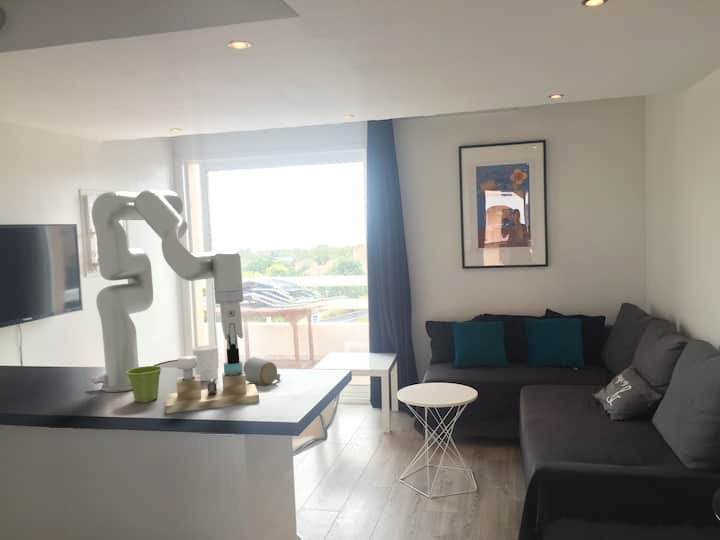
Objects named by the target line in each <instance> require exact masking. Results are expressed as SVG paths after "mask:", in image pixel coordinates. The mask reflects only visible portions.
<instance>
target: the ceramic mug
mask: <svg viewBox="0 0 720 540" xmlns="http://www.w3.org/2000/svg"><path fill="white" fill-rule="evenodd" d="M242 368H243V370H244V372H245V375H246V382H248V383H251V382H252V383H251V384H256V383H257V384H256V385H263V386H268V385H271V384H272V383H273V382H275V380H276V379H277V380H280V378H281V374H280V373H278V368H277V366H276V364H275V363H274V362H272V361H270V360H266V359H263V358H259V357H255V356H253V357H250V358H248V359H247V360H246V362H245V363H244V365H243V367H242ZM275 378H276V379H275Z"/></svg>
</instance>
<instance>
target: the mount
mask: <svg viewBox="0 0 720 540" xmlns="http://www.w3.org/2000/svg"><path fill="white" fill-rule="evenodd" d="M221 375H222V376H221V379H222V387H217V394H216V395H212V396H209V395H208V388H206V389H201V388H202V387H201V381H200V375H196V374H195V375H193V380H187V381H184V376H180V377H177V378H176V392H172V393H167V395H166V400H165V414H172V413H182V412H191V411H197V410H205V409H213V408H222V407H230V406H231V407H232V406H238V405H245V404H246V403H248V404H254V403H253V402H256V403H260V395H259V392H258V389H257V387H256V383H251V384H250V383H249V384H247V381H246V375H245V372H244V370H243V372H241V373H238V375H233V376H229V374H225V373H224V372H222V373H221Z"/></svg>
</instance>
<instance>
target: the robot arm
mask: <svg viewBox="0 0 720 540" xmlns="http://www.w3.org/2000/svg"><path fill="white" fill-rule="evenodd" d="M183 210H184V204H183V201H182V199H181V197H180V195H178V193H176V192H174V191H171V190H162V189H161V190H160V189H146V190H144V191H141V192H138V191H137V192H135V191H134V192H133V191H119V190H118V191H115V190H114V191H107V192H104V193H102V194H99V195H98V196H97V197H96V199H95V200H94V201H93V204H92V208H91V218H92V223H93V224H92V225H93V227H94V232H95V235H96V236H95V237H96V247H97V261H98V269H99V273H100V277H102V278H103V279H104V280H106V281H113V282H114V281H124V280H127V283H121V284H112V285H109V286H106V287H103V288H102V289H101V290H99V292H98V294H97V295H96V301H95V303H96V307H97V308H96V309H97V311H98V314H99V318H100V323H101V331H102V342H103V352H104V357H103V358H104V366H105V368H104V369H105V373H104V374H102V375H101V376H91V377H90V383H91V384H94V385H95V384H96V385H97V384H101V385H100V386H101V387H100V389H101V391H103V392H107V393H120V392H128V391H133V390H132V385H131V381H130V379H129V376H128V374H127V373H126V371H128V370H130V369H133V368H138V367H140V365H139V354H138V340H137V339H138V338H137V329H136V325H135V323H134V322H133V320H132V318H131V317H130V315H131V314H137V313H141V312H144V311H147V310H149V308H151V306H152V304H153V301H154V286H153V273H152V272H153V271H152V265H151V264H152V262H151V259H150V258H149V255H147V253H146V252H145V251H144V250H142V249H141V248H134V247H133V248H131V247H130V248H129V246H128V236H127V232H126V231H125V229H124V226H123V225H122V224H121V223H120V221H145V223H146V224H147V225H148V226H149V227H150V228H151V229H152V230H153V232H155V234H156V235H157V236H158V237H159V238H160V240H161V252H162V256H163V259H164V261H165V262H166V263H167V264H168V266H169V267H170V268H171V269H172V270H173V272H175V274H177V276H179V278H181V279H182V280H184V281H187V282H194V281H196V282H197V281H201V280H209V279H213V287H214V301H215V302H214V303H215V304H216V305H219V308H220V321H221V329H222V333H223V337H224V340H226V362H228V364H235V363H239V362H240V361H241V360H240V349H239V345H238V344H239V342H238V339H239V338H240V339H243V338H244V335H243V333H244V332H243V321H242V313H241V312H242V310H241V303H243V302H244V293H243V291H244V290H243V277H242V276H243V274H242V259H241V255H240V253H239V252H236V251H225V252H224V251H223V252H217V251H205V252H204V251H201V252H200V251H199V252H190V251H189V249H187V248H186V247H185V246H184V244H183V243H182V241H181V240H180V239H182V238H183V236H184V235H185V234H186V232H187V230H188V223H187V222H186V220H185V219H184V218H183V216H182V213H183Z"/></svg>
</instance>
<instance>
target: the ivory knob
mask: <svg viewBox="0 0 720 540" xmlns="http://www.w3.org/2000/svg"><path fill="white" fill-rule="evenodd" d="M195 367H197V357H196V356H193V355H185V356H179V357H178V358H177V369H178V370H183V371H182V372H183V377H184V381H187V380H193V376H194V372H193V371H194V369H195Z"/></svg>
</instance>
